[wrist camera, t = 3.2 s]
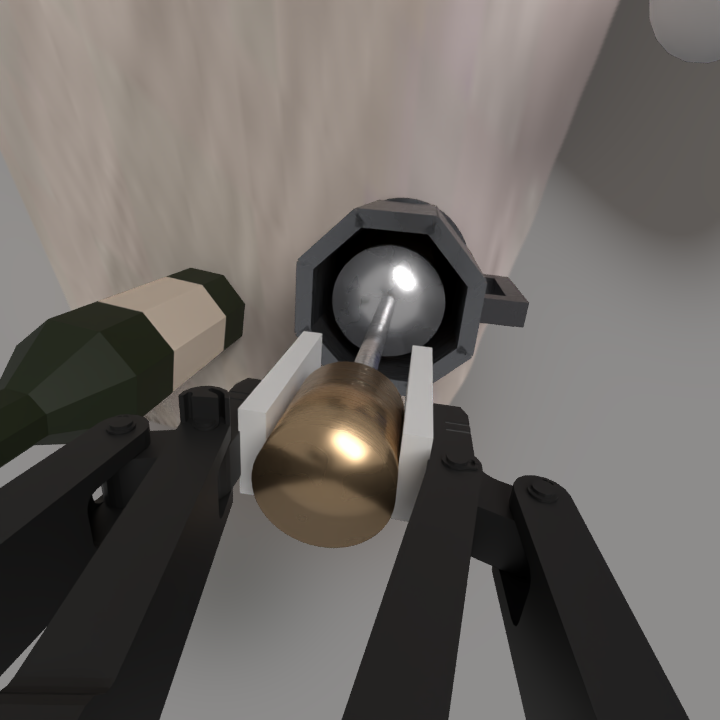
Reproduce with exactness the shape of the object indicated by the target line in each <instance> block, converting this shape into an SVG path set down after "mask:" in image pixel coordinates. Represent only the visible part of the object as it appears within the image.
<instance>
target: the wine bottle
mask: <svg viewBox="0 0 720 720" xmlns="http://www.w3.org/2000/svg"><path fill="white" fill-rule="evenodd" d="M244 309H245V304H244V302H243V301H242V300H241V298H240V297H239V295H238V294H237V293H236V291H235V290H234V289H233V287H232V286H231V285H230V283H229V282H228V281H227V279H226V278H225V276H224V275H220V274H215V273H211V272H207V271H203V270H198V269H194V268H189V269H186V270H183V271H181V272H178V273H175V274H172V275H169V276H167V277H164V278H161V279H158V280H156V281H153V282H150V283H147V284H144V285H142V286H139V287H136V288H133V289H131V290H128V291H125V292H122V293H119V294H117V295H114V296H111V297H108V298H106V299H103V300H100V301H97V302H94V303H92V304H89V305H86V306H83V307H81V308H78V309H75V310H72V311H70V312H67V313H64V314H61V315H58V316H56V317H53V318H50V319H48V320H47V321H45V322H44V323H43V324H42V325H41V326H39V327H38V328H37V329H36V330H35V331H33V332H32V333H31V334H30V335H29V336H28V337H26V338H25V339H24V340H23V341H22V342H20V343H19V344H18V345H17V346H16V348H15V350H14V352H13V354H12V356H11V358H10V360H9V362H8V364H7V367H6V368H5V371H4V373H3V375H2V377H1V379H0V468H1V467H2V466H3V465H5V464H7V463H8V462H10V461H11V460H12V459H14V458H15V457H17V456H19V455H20V454H21V453H23V452H25V451H26V450H28V449H29V448H30V447H32V446H33V445H52V444H68V443H69V442H71V441H72V440H74V439H75V438H77V437H78V436H80V435H81V434H83V433H84V432H86V431H87V430H89V429H90V428H92V427H93V426H95V425H96V424H98V423H99V422H101V421H103V420H105V419H107V418H111V417H115V416H117V415H122V414H123V415H124V414H130V415H139V416H142V417H143V416H144V415H146V414H147V413H148V412H149V411H150V410H152V409H153V408H154V407H155V406H157V405H158V404H159V403H160V402H161V401H163V400H164V399H165V398H166V397H168V396H169V395H170V394H171V393H172V392H174V391H175V390H176V389H177V388H179V387H180V386H181V385H182V384H183V383H185V382H186V381H187V380H188V379H190V378H191V377H192V376H193V375H194V374H196V373H197V372H198V371H199V370H201V369H202V368H203V367H204V366H205V365H207V364H208V363H209V362H210V361H212V360H213V359H214V358H215V357H216V356H218V355H219V354H220V353H221V352H223V351H224V350H225V349H226V348H227V347H229V346H230V345H231V344H232V343H234V342H235V341H236V340H237V339H238V338H240V337H241V336H242V330H243V319H244Z"/></svg>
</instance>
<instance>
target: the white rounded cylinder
mask: <svg viewBox="0 0 720 720" xmlns="http://www.w3.org/2000/svg"><path fill="white" fill-rule="evenodd" d="M649 20H650V23H651V26H652V29H653V31H654V34H655V37H656V40H657V41H658V42H659V43H660V44H661V45H662V46H663V47H664V49H665V50H666V51H667V52H668V53H669V54H671V55H673V56H675V57H677V58H679V59H681V60H683V61H685V62H696V63H697V62H698V63H711V62H715V61H718V60H720V0H649Z"/></svg>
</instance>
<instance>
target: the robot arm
mask: <svg viewBox="0 0 720 720" xmlns="http://www.w3.org/2000/svg"><path fill="white" fill-rule="evenodd" d="M321 351H322V333H315V332H307V331H303V333H302V334H301V335H300V336H299V337H298V339H297V340H296V341H295V342H294V343H293V344H292V346H291V347H290V348H289V349H288V350H287V352H286V353H285V354H284V355H283V356H282V357H281V359H280V360H279V361H278V362H277V363H276V364H275V366H274V367H273V368H272V369H271V370H270V372H269V373H268V374H267V375H266V376H265V377H264V379H263V380H258V379H251V378H247V379H245V380H243V381H241V382H239V383H237V384H236V385H235V386H234V387H233V388H232V389H231V390H230V391H229V392H227V390H225V389H222V388H220V387H214V386H200V387H195V388H191V389H188V390H186V391H183V392H182V393H181V394H180V395H179V408H180V420H181V423H180V424H179V426H178V428H177V429H176V430H167V431H166V430H164V431H150V429H149V421H148V420H147V419H146V418H145V417H142V416H139V415H130V414H124V415H123V414H122V415H117V416H115V417H111V418H107V419H105V420H103V421H101V422H99V423H98V424H96V425H95V426H93V427H92V428H90V429H89V430H87V431H86V432H84V433H83V434H81V435H80V436H78V437H77V438H75V439H74V440H72V441H71V442H69V443H68V444H66V445H65V446H63V447H62V448H60V449H58V450H57V451H56V452H54V453H53V454H51V455H49V456H48V457H47V458H45V459H43V460H42V461H40V462H39V463H37V464H36V465H34V466H33V467H31V468H30V469H28V470H27V471H25V472H24V473H22V474H21V475H19V476H18V477H16V478H15V479H13V480H12V481H10V482H9V483H7V484H6V485H4V486H3V487H2V488H0V676H1V675H2V674H3V673H4V672H5V671H6V670H7V668H9V666H10V665H11V664H12V663H13V662H14V661H15V660H16V659H17V658H18V657H19V656H20V654H22V653H23V651H24V650H25V649H26V648H27V647H28V646H29V645H30V644H31V643H32V642H33V641H34V640H35V639H36V638H37V636H38V635H39V634H40V633H41V632H42V631H43V630H44V629H45V628H46V627H47V628H46V629H45V631H44V633H43V634H42V635H41V637H40V639H39V640H38V641H37V643H36V644H35V646H34V647H33V649H32V650H31V652H30V653H29V655H28V657H27V658H26V660H25V661H24V663H23V664H22V666H21V667H20V669H19V670H18V672H17V673H16V675H15V677H14V678H13V679H12V680H11V682H10V683H9V684H8V685H7V686H6V687H5V688H3V689H2V690H1V691H0V720H159V719H160V716H161V713H162V710H163V708H164V705H165V701H166V699H167V696H168V693H169V690H170V687H171V684H172V681H173V678H174V675H175V672H176V669H177V666H178V663H179V660H180V657H181V654H182V651H183V648H184V645H185V642H186V639H187V636H188V633H189V630H190V627H191V624H192V622H193V619H194V616H195V613H196V610H197V607H198V604H199V601H200V598H201V595H202V592H203V589H204V586H205V583H206V580H207V577H208V574H209V571H210V568H211V565H212V562H213V559H214V556H215V553H216V550H217V547H218V544H219V541H220V538H221V536H222V532H223V530H224V527H225V524H226V521H227V518H228V515H229V512H230V509H231V506H232V503H233V486H234V485H235V483H236V482H237V480H238V479H239V477H240V493H243V494H249V495H254V493H253V489H252V481H251V476H252V468H253V464H254V461H255V459H256V456H257V455H258V453H259V452H260V450H261V448H262V447H263V445H264V444H265V442H266V440H267V439H268V437H269V436H270V434H271V433H272V431H273V429H274V428H275V426H276V425H277V423H278V422H279V420H280V418H281V417H282V415H283V414H284V412H285V410H286V409H287V407H288V406H289V404H290V403H291V401H292V399H293V398H294V396H295V395H296V393H297V392H298V390H299V388H300V387H301V385H302V384H303V382H304V381H305V379H306V378H307V377H308V376H309V375H310V374H311V373H312V372H314V371H315V370H317V369H318V368H320V367H321ZM404 411H405V412H404V421H403V430H402V439H401V448H400V456H399V465H398V483H397V492H396V501H395V506H394V511H393V513H392V515H391V519H395V520H401V521H407V522H409V523H408V525H407V528H406V531H405V534H404V537H403V540H402V543H401V546H400V549H399V552H398V555H397V558H396V561H395V564H394V567H393V570H392V573H391V576H390V579H389V581H388V584H387V587H386V590H385V593H384V596H383V599H382V602H381V605H380V608H379V611H378V614H377V617H376V620H375V623H374V626H373V629H372V632H371V635H370V638H369V640H368V644H367V646H366V649H365V653H364V655H363V658H362V661H361V664H360V667H359V670H358V673H357V676H356V679H355V682H354V685H353V688H352V691H351V694H350V697H349V700H348V703H347V705H346V708H345V712H344V714H343V718H342V720H448V717H449V711H450V702H451V695H452V689H453V682H454V674H455V667H456V660H457V652H458V645H459V638H460V630H461V622H462V615H463V609H464V601H465V593H466V587H467V578H468V572H469V565H470V557H473V558H476V559H478V560H480V561H482V562H485V563H487V564H489V565H492V573H493V578H494V582H495V586H496V590H497V595H498V599H499V603H500V608H501V612H502V617H503V621H504V625H505V630H506V634H507V639H508V643H509V647H510V652H511V656H512V660H513V664H514V669H515V674H516V678H517V682H518V687H519V691H520V695H521V699H522V704H523V709H524V713H525V717H526V720H689V718H688V716H687V714H686V712H685V710H684V708H683V707H682V705H681V703H680V701H679V699H678V697H677V695H676V693H675V692H674V690H673V688H672V686H671V684H670V682H669V680H668V679H667V676H666V675H665V673H664V671H663V669H662V667H661V665H660V663H659V661H658V660H657V658H656V656H655V654H654V652H653V650H652V648H651V646H650V645H649V643H648V641H647V639H646V637H645V635H644V633H643V631H642V630H641V628H640V626H639V624H638V622H637V620H636V618H635V616H634V614H633V613H632V611H631V609H630V607H629V605H628V603H627V601H626V599H625V598H624V596H623V594H622V592H621V590H620V588H619V586H618V584H617V583H616V581H615V579H614V577H613V575H612V573H611V571H610V569H609V567H608V565H607V564H606V562H605V560H604V558H603V556H602V554H601V552H600V551H599V549H598V547H597V545H596V543H595V541H594V539H593V537H592V535H591V533H590V532H589V530H588V528H587V526H586V524H585V522H584V520H583V519H582V517H581V515H580V513H579V511H578V509H577V507H576V505H575V503H574V502H573V500H572V498H571V496H570V495H569V494H568V492H567V491H566V490H565V489H564V488H563V487H561V486H560V485H559V484H557V483H556V482H554V481H551V480H549V479H547V478H544V477H539V476H532V475H529V476H528V475H527V476H526V475H525V476H522V477H519V478H517V479H516V481H515V482H514V484H513V486H512V485H509V484H506V483H504V482H501V481H498V480H496V479H494V478H492V477H490V476H488V475H487V474H485V473H484V472H483V471H482V464H481V462H480V461H479V460H478V459H477V458H476V457H475V456H474V450H473V444H472V438H471V434H470V427H469V419H468V415H467V414H466V413H465V412H464V411H463V410H462V409H461V407H455V406H449V405H442V404H435V403H433V362H432V348H430V347H423V346H415V345H413V347H412V354H411V361H410V368H409V376H408V383H407V390H406V397H405V405H404ZM100 486H101V487H102V492H103V495H102V496H101V497H99V498H98V499H97V500H95V501H94V500H93V497H92V494H93V493H94V492H95V491H96V489H97V488H99V487H100Z"/></svg>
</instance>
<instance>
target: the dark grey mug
mask: <svg viewBox="0 0 720 720" xmlns="http://www.w3.org/2000/svg"><path fill="white" fill-rule="evenodd" d="M383 244H396V245H402V246H405V247H408V248H411V249H413V250H415V251H417V252H419V253H420V254H422V255H423V256H424V257H426V258H427V259H428V260H429V261H430V262H431V263H432V265H433V266H434V267H435V269H436V270H437V272H438V274H439V276H440V278H441V280H442V283H443V287H444V293H445V311H444V315H443V319H442V321H441V324H440V326H439V328H438V329H437V331H436V333H435V334H434V335H433V337H432V338H431V339H430V340H429V341H428V342H427V343H425V344H424V345H423V347H430V348H432V362H433V383H434V382H436V381H437V380H439V379H440V378H442V377H443V376H445V375H446V374H448V373H449V372H451V371H452V370H454V369H455V368H457V367H458V366H460V365H461V364H463V363H464V362H466V361H467V360H469V359H470V358H472V357H471V356H473V353H474V348H475V343H476V338H477V333H478V328H479V323H488V324H496V325H504V326H512V327H514V326H516V327H523V326H524V322H525V318H526V314H527V309H528V305H529V302H528V301H527V300H526V299H525V297H524V296H523V295H522V294H521V292H520V291H519V290H518V289H517V287H516V286H515V285H514V284H513V282H512V281H511V280H510V279H509V278H508V277H502V276H495V275H486V274H483V273H482V272H481V270H480V268H479V266H478V265H477V263H476V261H475V259H474V258H473V256H472V254H471V252H470V250H469V249H468V248H467V246H466V243H465V241H464V239H463V236H462V234H461V232H460V231H459V229H458V228H457V226H456V225H455V224H454V222H453V221H452V220H451V219H450V218H449V217H448V216H447V215H446V214H445V213H444V212H443V211H441V210H439V209H438V207H437V206H436V207H435V205H431V204H429V203H427V202H424V201H420V200H417V199H411V198H393V199H387V200H378V201H375V202H372V203H369V204H366V205H363V206H361V207H358V208H355V209H353V210H352V211H351V212H350V213H349V214H348V215H347V216H346V217H344V218H343V219H342V220H341V221H340V222H339V223H338V224H337V225H336V226H334V227H333V228H332V229H331V230H330V231H329V232H328V233H327V234H326V235H324V236H323V237H322V238H321V239H320V240H319V241H318V242H317V243H315V244H314V245H313V246H312V247H311V248H310V249H309V250H308V251H307V252H305V253H304V254H303V255H302V256H301V257H300V258H299V259H298V260H299V261H297V268H296V303H295V333H296V336H297V337H299V336H300V335H301V334H302V333H303V331H307V332H315V333H322V351H321V364H322V365H323V366H324V365H327V364H330V363H335V362H344V361H348V362H354V361H355V359H356V357H357V354H358V352H359V350H360V348H359V347H357V346H356V345H355V344H353V343H352V342H351V341H350V340H349V339H348V338H347V337H346V336H345V335H344V333H343V332H342V331H341V329H340V327H339V326H338V323H337V321H336V319H335V315H334V312H333V305H332V296H333V289H334V285H335V282H336V280H337V277H338V275H339V274H340V272H341V270H342V269H343V268H344V266H345V265H346V264H347V263H348V262H349V261H350V260H351V259H352V258H353V257H354V256H356V255H357V254H358V253H360V252H361V251H363V250H365V249H367V248H370V247H373V246H377V245H383ZM411 354H412V352H410V353H407V354H404V355H399V356H381V359H380V362H379V366H378V371H379V372H381V373H382V374H384V375H385V376H386V377H387V378H388V379H389V380H390V381H391V382H392V383H393V384H394V385H395V387H396V388H397V390H398V392H399V393H400V395H401V396H406V390H407V383H408V376H409V368H410V361H411Z"/></svg>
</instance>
